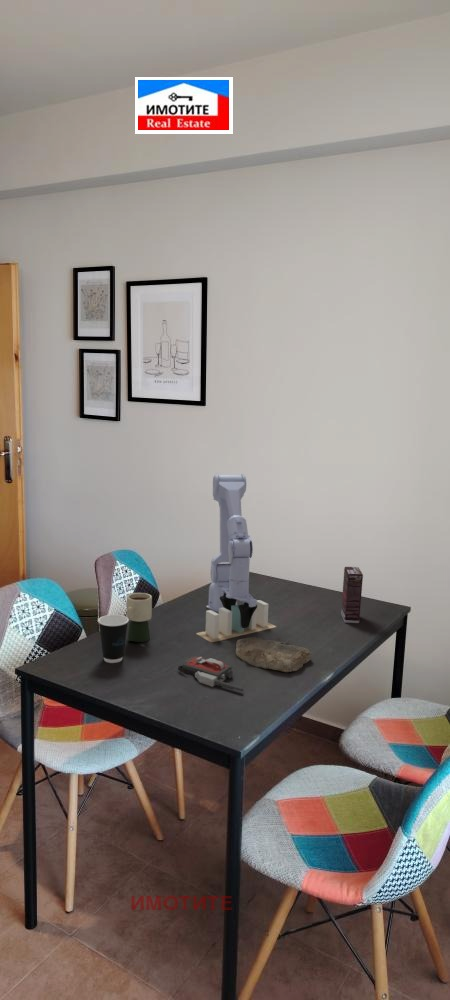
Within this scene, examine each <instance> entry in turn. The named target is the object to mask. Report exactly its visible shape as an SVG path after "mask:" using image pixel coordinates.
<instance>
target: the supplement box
mask: <svg viewBox="0 0 450 1000" xmlns="http://www.w3.org/2000/svg"><path fill="white" fill-rule="evenodd" d="M363 578H364V575H363V573H362V571H361V569H360V567H358V566H344V568H343V582H342V594H341V595H342V596H341V597H342V598H341V609H340V615H341V616H342V620H343V621H344V623H347V624H359V623H360V619H361V618H360V615H361V603H362V590H363Z"/></svg>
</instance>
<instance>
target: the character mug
mask: <svg viewBox="0 0 450 1000" xmlns="http://www.w3.org/2000/svg"><path fill="white" fill-rule="evenodd" d="M152 597H153V596H152V595H151V594H149V593H146V592H132V593H129V594H127V595H126V602H125V603H126V614H125V616H126V617H127V618H128V619H129V621H130V622H129V624H128V630H127V631H128V632H127V640H128V641H130V642H134V643H138V642H139V643H144V642H148V641H149V640H150V639H151V638H150V637H151V636H150V635H151V634H150V625H149V620H151V619H152V613H153V612H152V611H153V609H152V607H153V598H152Z"/></svg>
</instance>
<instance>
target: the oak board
mask: <svg viewBox="0 0 450 1000" xmlns="http://www.w3.org/2000/svg"><path fill="white" fill-rule="evenodd" d="M274 628H277V625H274V624H272V623H270V622H268V626H267V627H262V626H260V625H258V624H256V629H254V630H251V629H249V628H244V632H241V633H238V632H237V631H235V630H233V629H232V632H231V635H228V636H226V635H225V634H223V633H221V632H219V638H216V639H214V638H212V637H210V636H208V635H207V634H205V633H206V630H205V631H200V632H196V633H195V634H196V635H198V636H199V637H201V638H203V639H204V640H206V641H208V642H209V643H215V642H219V641H224V640H228V639H232V638H235V637H236V638H237V637H239V636H244V635H249V634H253V633H259V632H262V631H266V630H270V629H274Z"/></svg>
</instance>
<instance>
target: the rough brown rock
mask: <svg viewBox="0 0 450 1000" xmlns="http://www.w3.org/2000/svg"><path fill="white" fill-rule="evenodd" d="M235 647H236V648H235V654H236V656H237V658H239V659H241V661H244V662H245V663H246V664H248V665H251V666H254V667H256V668H263V669H266V670H267V669H268V670H271V671H279V672H283V673H289V672H290V673H291V672H297V671H299V670H300V669H302V667H303V665H304V664H307V663H309V662H310V661H311V660H312V657H311V656H312V654H313V653H312V652H311V650H309V648H306V647H303V646H298V645H293V644H289V643H287V642H282V641H277V640H273V639H272V640H271V639H269V640H267V639H263V638H258V637H252V636H251V637H245V638H241V639H237V641H236V643H235Z"/></svg>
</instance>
